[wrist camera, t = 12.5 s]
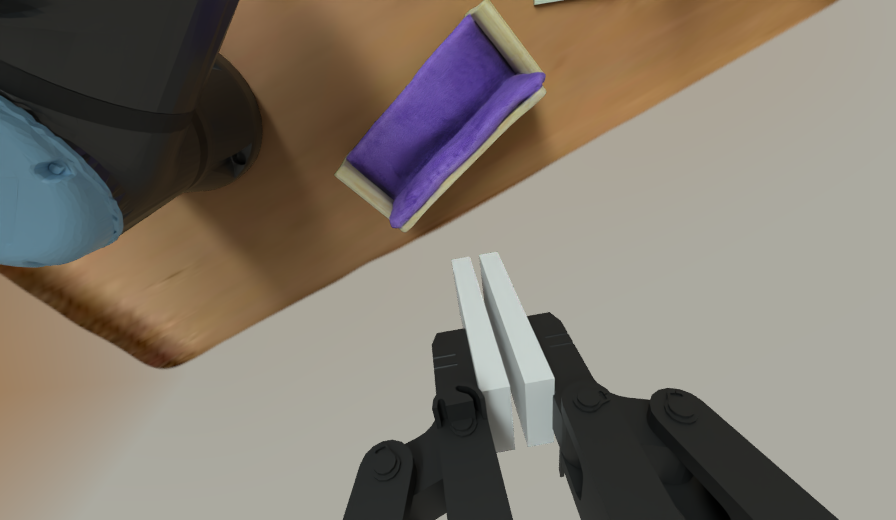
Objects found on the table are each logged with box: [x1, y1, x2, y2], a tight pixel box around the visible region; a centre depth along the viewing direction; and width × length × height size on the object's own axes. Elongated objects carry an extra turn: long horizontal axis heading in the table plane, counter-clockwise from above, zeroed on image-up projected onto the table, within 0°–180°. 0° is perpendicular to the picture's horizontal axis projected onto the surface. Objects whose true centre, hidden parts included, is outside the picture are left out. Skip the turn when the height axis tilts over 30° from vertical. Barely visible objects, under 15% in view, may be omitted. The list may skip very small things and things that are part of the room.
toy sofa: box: [334, 0, 546, 232], centre depth 36 cm, size 21×9×10 cm, turn 135°
